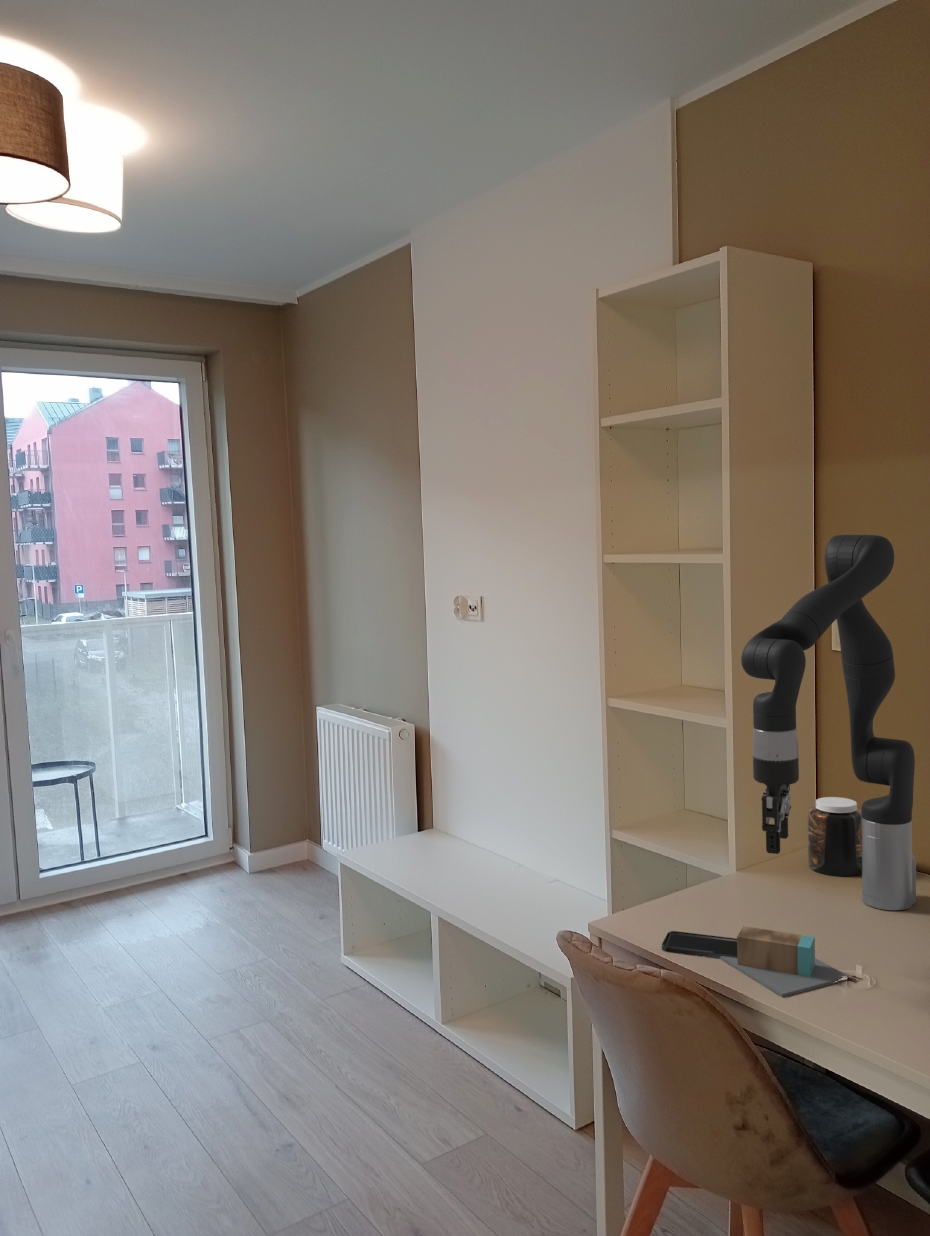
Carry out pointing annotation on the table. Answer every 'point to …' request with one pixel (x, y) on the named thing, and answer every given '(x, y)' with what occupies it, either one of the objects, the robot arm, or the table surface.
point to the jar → (835, 837)
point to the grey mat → (789, 977)
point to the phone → (699, 944)
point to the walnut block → (776, 951)
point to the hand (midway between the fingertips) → (777, 845)
